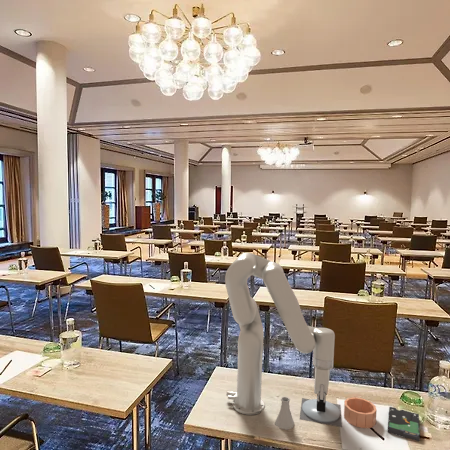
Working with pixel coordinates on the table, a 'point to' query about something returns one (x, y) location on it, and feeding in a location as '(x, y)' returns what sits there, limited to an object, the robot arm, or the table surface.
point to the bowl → (354, 410)
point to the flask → (285, 415)
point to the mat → (336, 423)
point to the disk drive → (404, 424)
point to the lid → (325, 417)
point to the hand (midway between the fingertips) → (320, 407)
